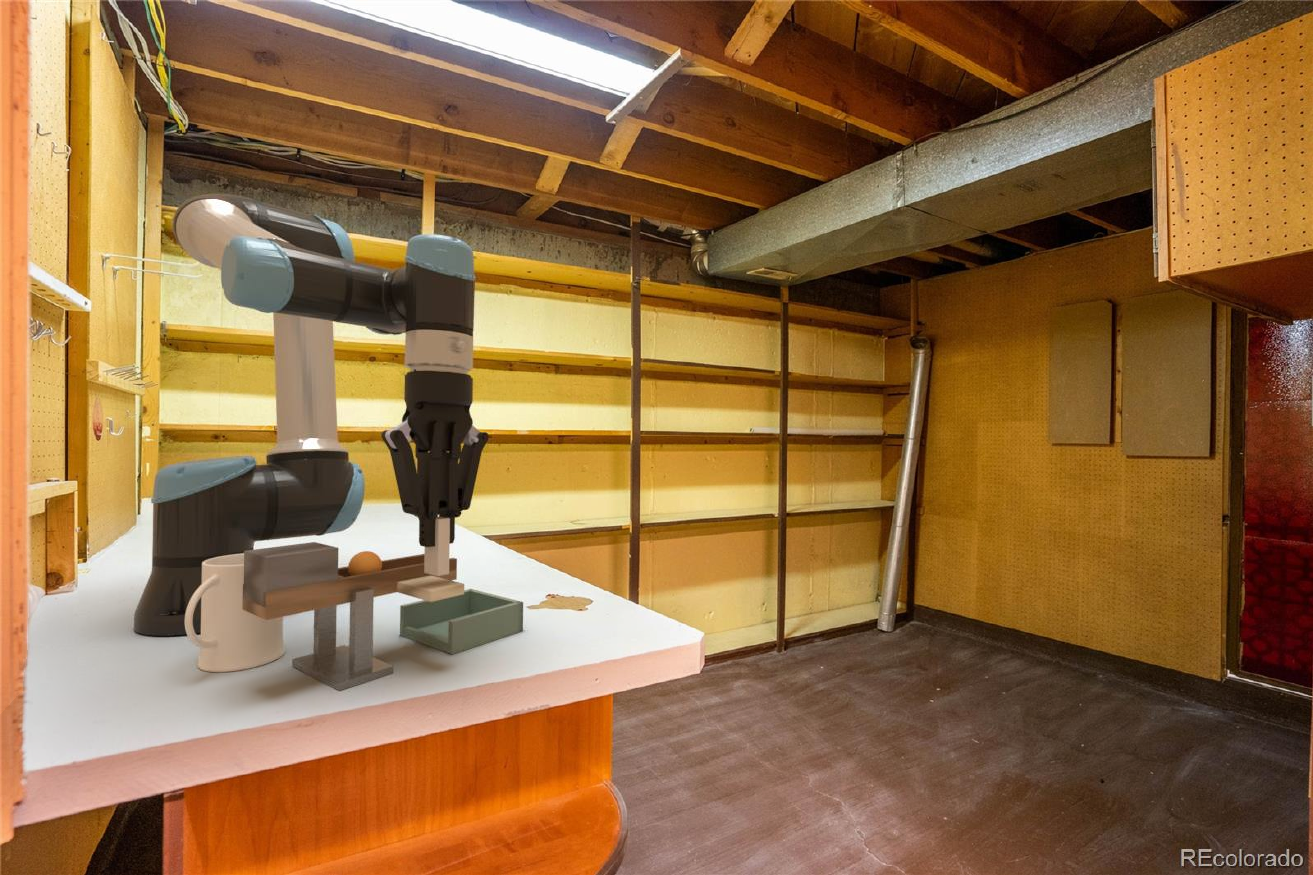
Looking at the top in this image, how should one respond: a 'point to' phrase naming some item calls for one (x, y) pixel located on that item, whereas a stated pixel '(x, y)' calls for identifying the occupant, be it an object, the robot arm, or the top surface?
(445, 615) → the tray
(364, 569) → the ball
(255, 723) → the top surface
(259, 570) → the lever
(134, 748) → the top surface
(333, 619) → the stand
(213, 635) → the mug
